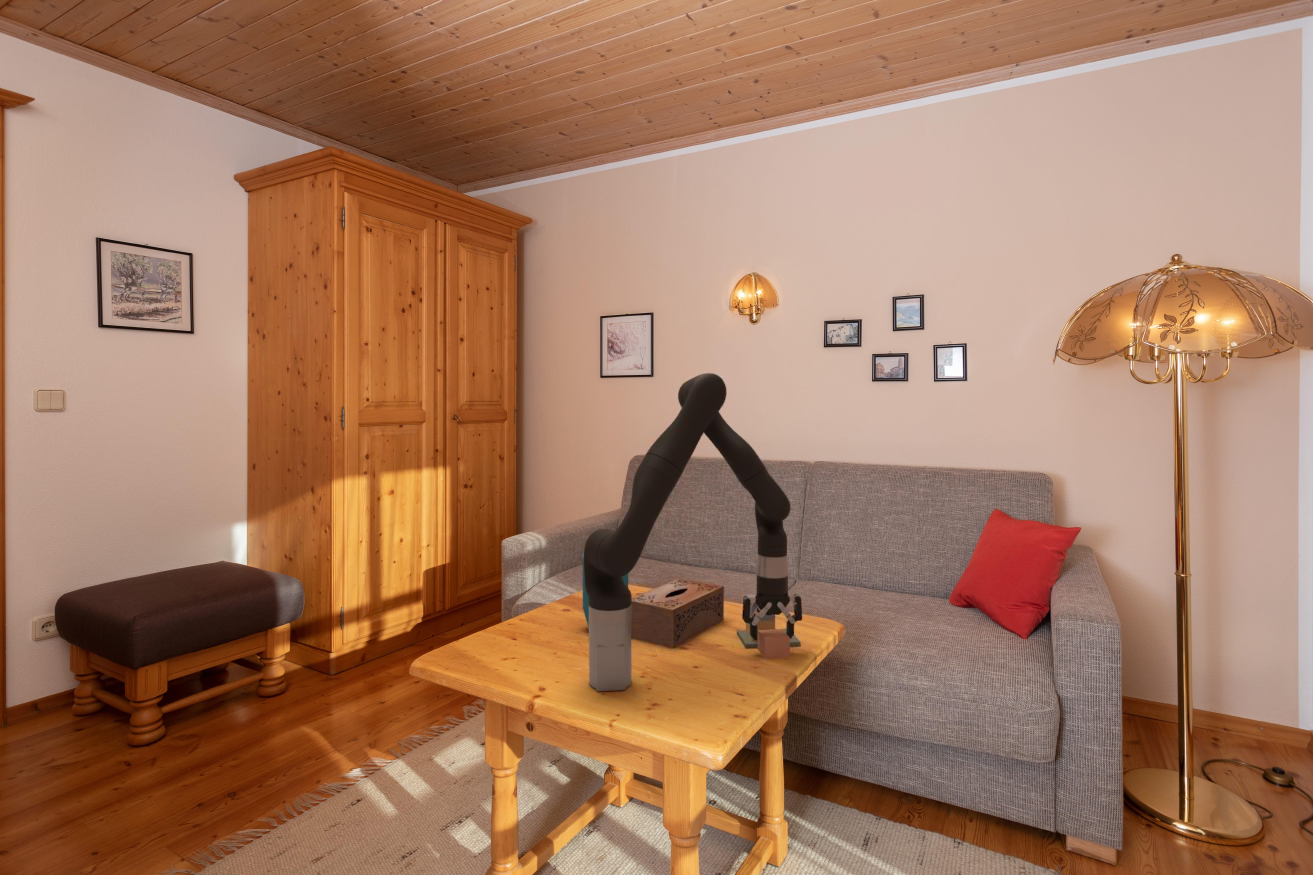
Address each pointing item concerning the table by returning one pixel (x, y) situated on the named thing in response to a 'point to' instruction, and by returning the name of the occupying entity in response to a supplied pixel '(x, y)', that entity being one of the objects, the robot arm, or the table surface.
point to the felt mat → (754, 644)
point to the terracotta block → (773, 644)
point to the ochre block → (760, 627)
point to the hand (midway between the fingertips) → (772, 638)
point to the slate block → (765, 617)
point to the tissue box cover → (676, 612)
